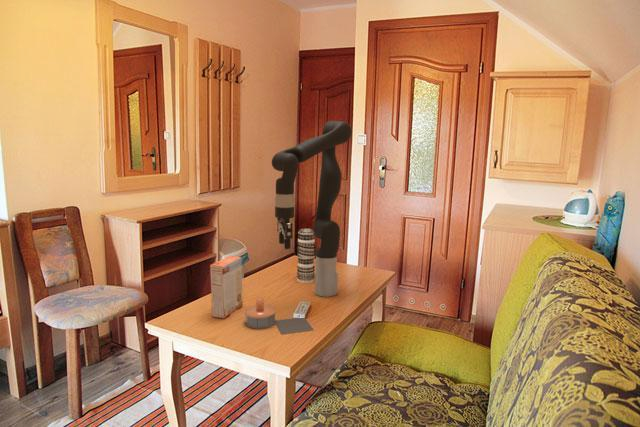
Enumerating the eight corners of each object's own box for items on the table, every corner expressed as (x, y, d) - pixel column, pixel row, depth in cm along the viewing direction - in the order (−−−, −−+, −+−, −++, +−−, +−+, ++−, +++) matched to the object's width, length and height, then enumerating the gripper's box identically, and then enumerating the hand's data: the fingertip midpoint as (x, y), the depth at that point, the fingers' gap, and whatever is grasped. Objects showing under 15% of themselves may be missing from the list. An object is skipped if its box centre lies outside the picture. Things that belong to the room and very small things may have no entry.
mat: (304, 318, 165) (304, 316, 165) (314, 331, 154) (314, 330, 154) (273, 322, 162) (273, 320, 161) (281, 336, 150) (281, 334, 150)
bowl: (270, 316, 166) (270, 305, 165) (276, 327, 157) (276, 316, 156) (244, 320, 163) (244, 308, 162) (249, 331, 154) (249, 319, 153)
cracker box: (230, 304, 178) (229, 255, 174) (243, 306, 176) (242, 256, 172) (210, 317, 165) (209, 264, 161) (224, 319, 163) (223, 266, 159)
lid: (271, 305, 166) (271, 292, 165) (278, 316, 156) (278, 302, 155) (242, 308, 163) (242, 295, 162) (247, 320, 152) (247, 306, 151)
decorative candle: (292, 281, 208) (293, 230, 203) (301, 275, 216) (301, 226, 212) (310, 284, 204) (311, 232, 200) (318, 278, 212) (319, 228, 208)
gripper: (299, 207, 161) (298, 249, 164) (289, 202, 175) (289, 241, 177) (279, 208, 159) (279, 251, 162) (271, 202, 172) (271, 242, 175)
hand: (284, 246), depth 170 cm, fingers open, 8 cm apart
